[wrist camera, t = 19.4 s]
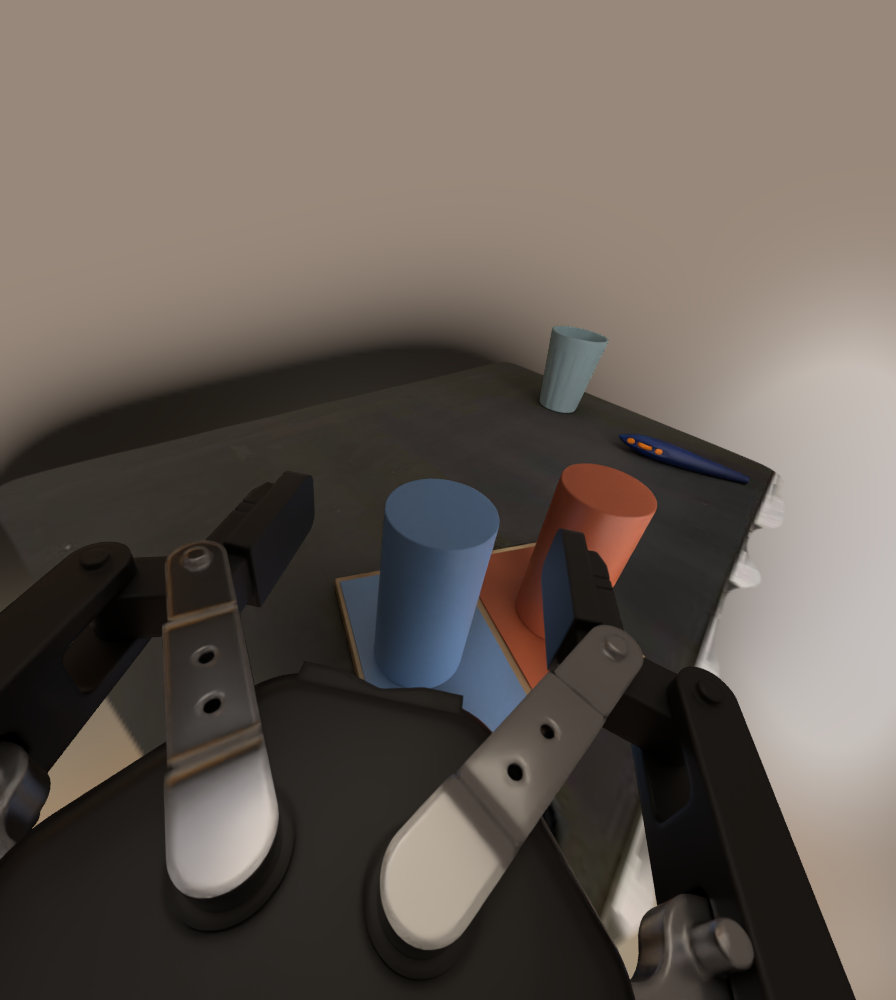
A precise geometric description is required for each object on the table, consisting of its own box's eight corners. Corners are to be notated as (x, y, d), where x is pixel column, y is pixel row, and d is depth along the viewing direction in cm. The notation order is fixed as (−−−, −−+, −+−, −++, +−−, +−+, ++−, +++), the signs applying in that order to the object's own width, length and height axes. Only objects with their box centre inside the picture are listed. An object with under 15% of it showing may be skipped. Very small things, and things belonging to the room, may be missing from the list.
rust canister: (541, 653, 25) (602, 524, 19) (502, 590, 28) (543, 466, 22) (605, 633, 27) (678, 511, 21) (561, 577, 30) (613, 459, 24)
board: (386, 805, 18) (388, 795, 18) (334, 588, 28) (334, 576, 27) (660, 693, 25) (669, 683, 24) (543, 549, 34) (547, 538, 34)
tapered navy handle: (737, 485, 52) (748, 467, 51) (747, 494, 49) (759, 475, 48) (614, 442, 54) (622, 424, 53) (615, 447, 51) (624, 429, 50)
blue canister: (387, 701, 21) (405, 559, 15) (365, 622, 24) (372, 483, 19) (475, 675, 23) (520, 539, 17) (442, 605, 26) (470, 474, 21)
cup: (585, 420, 59) (613, 346, 53) (532, 409, 59) (553, 334, 53) (580, 402, 65) (604, 333, 59) (532, 392, 65) (551, 322, 59)
